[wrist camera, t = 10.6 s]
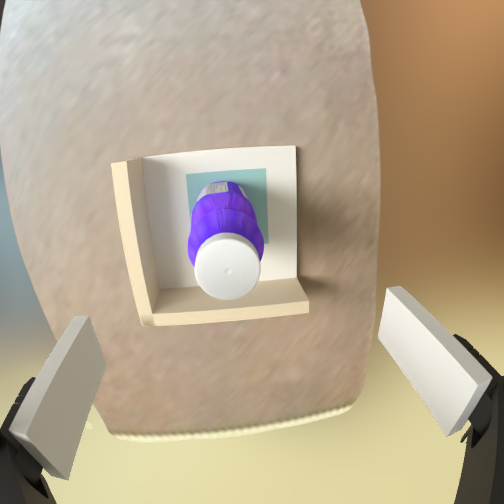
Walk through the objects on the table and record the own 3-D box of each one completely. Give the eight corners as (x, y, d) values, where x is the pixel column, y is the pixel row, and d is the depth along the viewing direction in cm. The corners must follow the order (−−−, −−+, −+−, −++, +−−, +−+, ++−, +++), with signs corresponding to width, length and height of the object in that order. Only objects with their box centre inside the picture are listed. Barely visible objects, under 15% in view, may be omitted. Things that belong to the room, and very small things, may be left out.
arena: (131, 158, 32) (111, 163, 25) (293, 145, 33) (311, 146, 27) (152, 296, 38) (141, 326, 32) (294, 284, 40) (308, 312, 33)
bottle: (194, 181, 33) (170, 221, 17) (244, 175, 33) (270, 208, 17) (202, 242, 35) (192, 328, 19) (250, 236, 36) (277, 317, 20)
